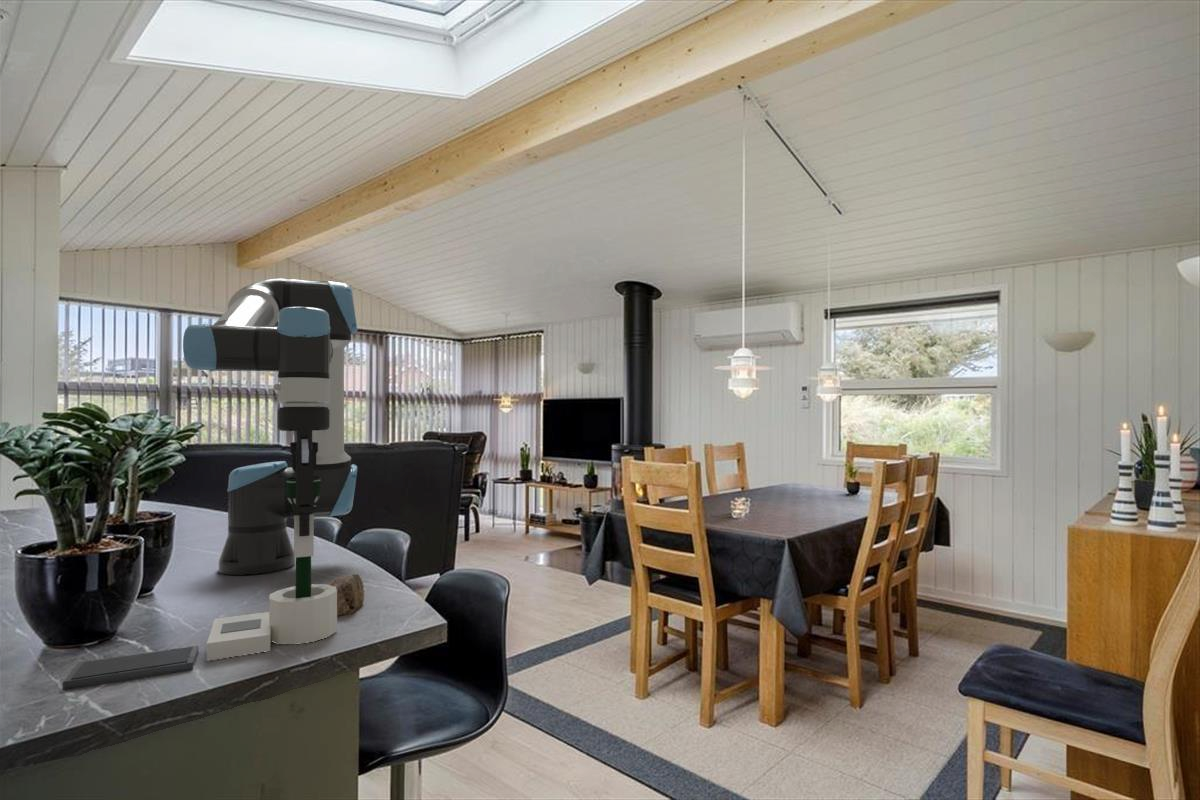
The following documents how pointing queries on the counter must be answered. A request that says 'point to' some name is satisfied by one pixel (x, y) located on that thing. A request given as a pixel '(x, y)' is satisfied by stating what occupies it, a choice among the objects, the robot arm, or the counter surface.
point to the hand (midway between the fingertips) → (303, 554)
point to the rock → (348, 593)
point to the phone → (131, 667)
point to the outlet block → (276, 623)
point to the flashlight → (305, 562)
